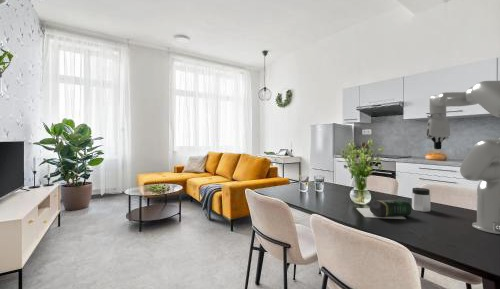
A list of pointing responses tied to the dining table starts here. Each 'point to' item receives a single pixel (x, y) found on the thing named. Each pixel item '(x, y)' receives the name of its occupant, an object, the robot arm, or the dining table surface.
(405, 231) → the dining table surface
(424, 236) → the dining table surface
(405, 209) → the coffee jar
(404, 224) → the dining table surface
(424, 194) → the jar
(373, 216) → the mat
